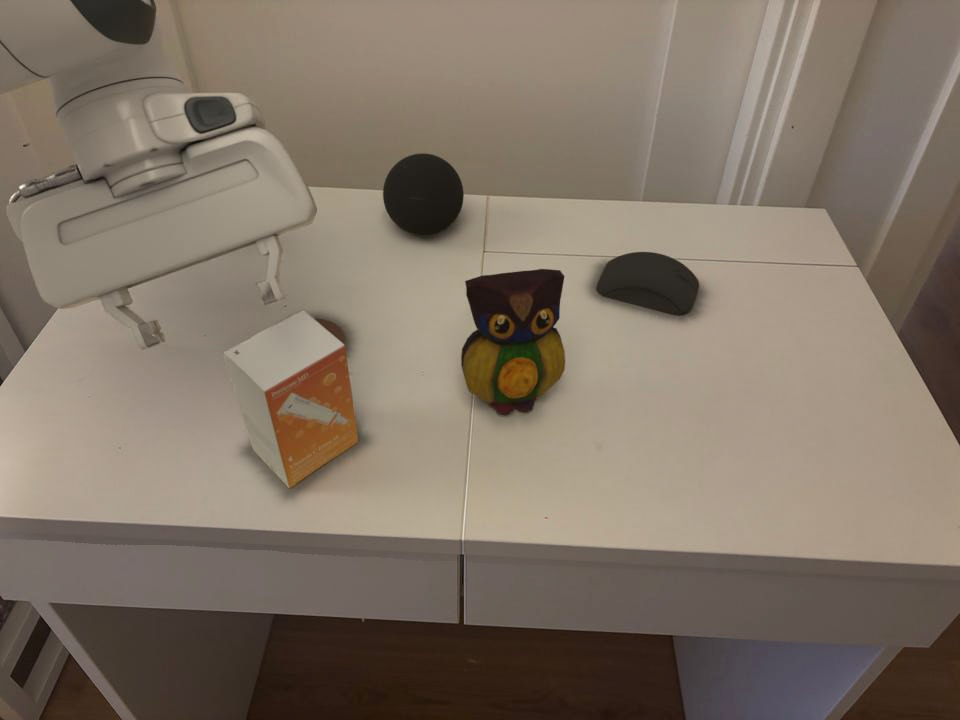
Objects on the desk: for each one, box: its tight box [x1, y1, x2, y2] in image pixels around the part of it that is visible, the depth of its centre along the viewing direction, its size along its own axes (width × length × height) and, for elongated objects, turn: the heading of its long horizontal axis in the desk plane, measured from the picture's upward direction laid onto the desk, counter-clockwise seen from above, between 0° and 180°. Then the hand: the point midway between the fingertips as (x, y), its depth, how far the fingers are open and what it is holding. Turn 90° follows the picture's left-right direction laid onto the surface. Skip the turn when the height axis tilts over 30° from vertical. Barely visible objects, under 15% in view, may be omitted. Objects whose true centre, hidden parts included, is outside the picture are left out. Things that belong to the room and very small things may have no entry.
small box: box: [222, 310, 359, 489], centre depth 66 cm, size 8×6×13 cm
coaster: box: [313, 317, 346, 346], centre depth 81 cm, size 8×8×1 cm
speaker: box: [382, 152, 465, 237], centre depth 93 cm, size 10×10×10 cm
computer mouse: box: [596, 251, 700, 316], centre depth 87 cm, size 6×11×4 cm, turn 68°
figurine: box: [460, 268, 566, 416], centre depth 70 cm, size 10×7×15 cm
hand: (215, 324), depth 55 cm, fingers open, 8 cm apart
